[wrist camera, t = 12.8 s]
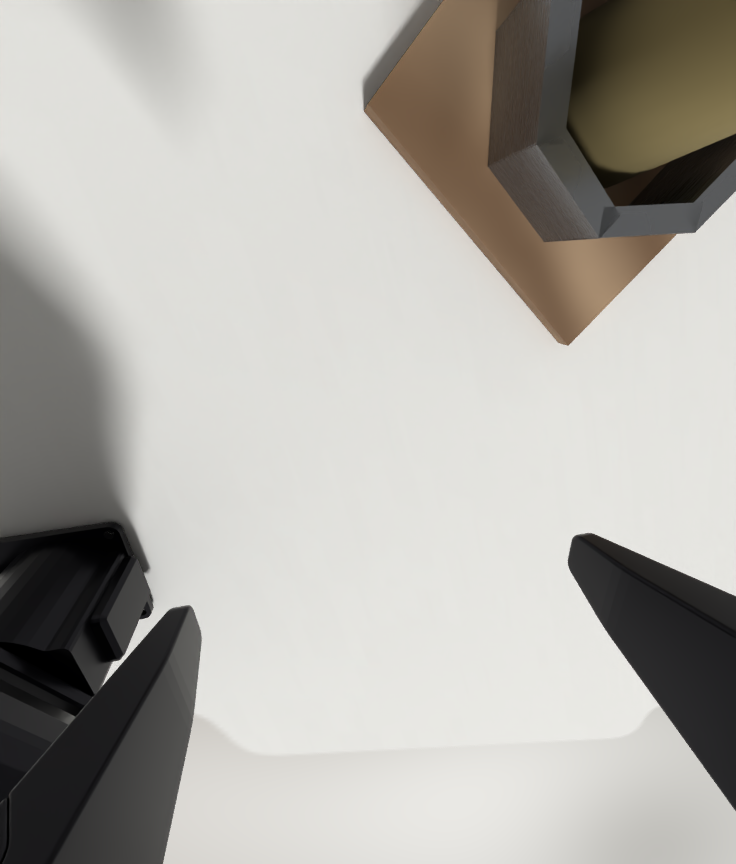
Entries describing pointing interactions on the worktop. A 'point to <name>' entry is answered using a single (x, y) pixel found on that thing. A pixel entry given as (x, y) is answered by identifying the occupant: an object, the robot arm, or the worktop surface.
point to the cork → (652, 83)
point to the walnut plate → (478, 187)
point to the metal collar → (560, 156)
